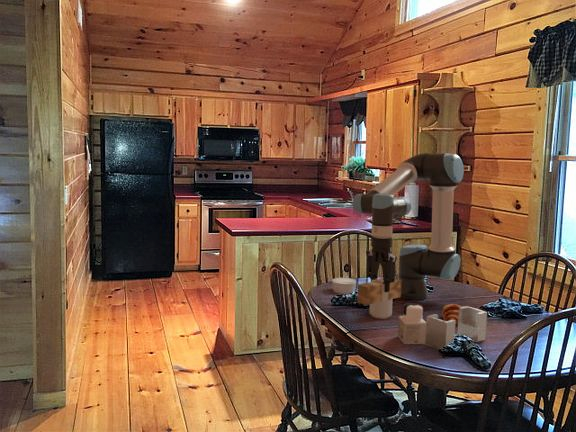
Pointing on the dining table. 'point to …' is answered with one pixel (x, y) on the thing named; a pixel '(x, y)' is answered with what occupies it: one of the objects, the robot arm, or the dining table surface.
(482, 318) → the brackets
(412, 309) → the container
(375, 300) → the rail
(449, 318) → the croissant
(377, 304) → the mug
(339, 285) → the ramekin
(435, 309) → the dining table surface
